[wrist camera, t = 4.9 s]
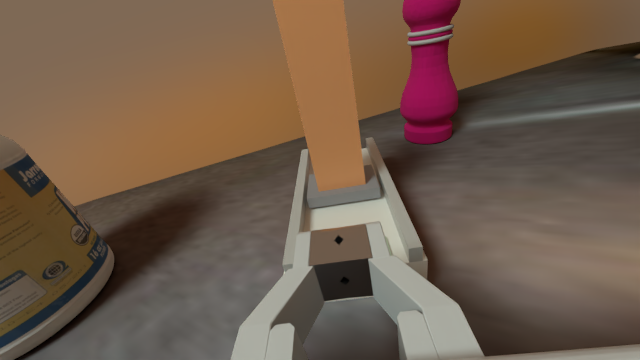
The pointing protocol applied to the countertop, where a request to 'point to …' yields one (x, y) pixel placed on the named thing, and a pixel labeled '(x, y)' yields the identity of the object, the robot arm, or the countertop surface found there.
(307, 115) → the lever
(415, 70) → the pepper mill
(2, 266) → the supplement tub
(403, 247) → the white base plate
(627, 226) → the countertop surface
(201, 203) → the countertop surface
